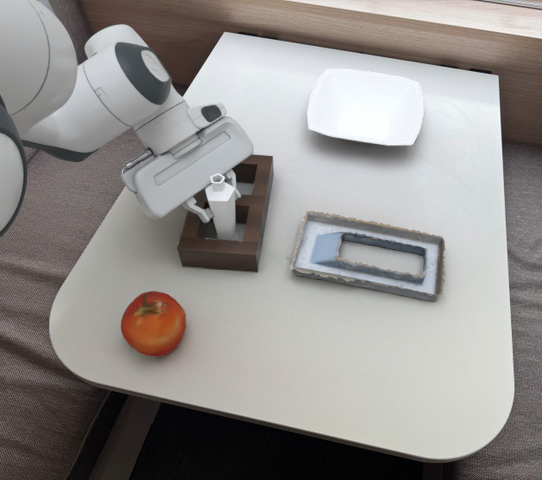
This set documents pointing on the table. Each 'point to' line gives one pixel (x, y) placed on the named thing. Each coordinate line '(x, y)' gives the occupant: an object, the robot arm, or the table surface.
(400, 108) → the bowl
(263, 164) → the rack
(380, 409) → the table surface
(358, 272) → the picture frame
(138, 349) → the tomato
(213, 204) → the perfume bottle
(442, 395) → the table surface
